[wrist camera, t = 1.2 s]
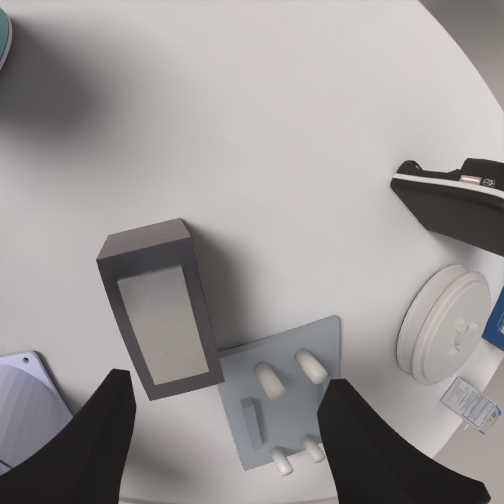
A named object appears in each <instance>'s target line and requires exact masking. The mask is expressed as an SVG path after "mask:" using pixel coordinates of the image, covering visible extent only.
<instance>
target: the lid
mask: <svg viewBox="0 0 504 504" xmlns="http://www.w3.org/2000/svg"><path fill="white" fill-rule="evenodd" d="M489 312H490V293H489V286H488V282H487V280H486V278H485V277H484V275H482V274H481V273H479V272H475V271H472V272H469V270H468V269H467V268H466V267H464V266H462V265H459V264H453V265H449V266H447V267H445V268H443V269H441V270H440V271H439V272H437V273H436V274H435V275H434V276H433V277H432V278H431V279H430V280H429V281H428V282H427V283H426V284H425V285H424V287H423V288H422V289H421V291H420V292H419V293H418V295H417V297H416V298H415V300H414V301H413V303H412V305H411V307H410V308H409V310H408V313H407V315H406V317H405V319H404V322H403V324H402V327H401V330H400V333H399V337H398V342H397V360H398V363H399V366H400V367H401V368H402V370H404V371H405V372H406V373H409V374H413V377H414V379H415V380H416V381H417V382H418V383H419V384H421V385H432V384H435V383H437V382H440V381H443V380H445V379H447V378H448V377H450V376H451V375H453V374H454V373H455V372H456V371H457V370H458V369H459V368H460V367H461V366H462V365H463V364H464V363H465V362H466V360H467V359H468V358H469V357H470V355H471V354H472V352H473V351H474V349H475V347H476V346H477V344H478V342H479V340H480V338H481V336H482V334H483V332H484V329H485V326H486V324H487V320H488V316H489Z"/></svg>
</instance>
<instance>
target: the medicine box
mask: <svg viewBox="0 0 504 504" xmlns="http://www.w3.org/2000/svg"><path fill="white" fill-rule="evenodd" d="M441 401H442V402H443V403H444V404H445V405H446V406H448V407H449V408H450V409H451V410H453V411H454V412H455V413H456V414H458V415H459V416H460V417H461V418H463V419H464V420H465V421H466V422H468V423H469V424H470V425H471V426H473V427H474V428H475V429H476V430H478V431H480V432H482V433H483V434H486V433H487V432H488V431H489V430H490V429H491V427H492V426H493V425H494V423H495V422H496V421H497V419H498V418H499V416H500V414H501V411H500V410H499V408H498V406H497V404H496V403H494V402H493V401H492V400H491V399H489V398H488V397H487V396H485V395H484V394H482V393H481V392H479V391H478V390H477V389H475V388H474V387H473V386H471V385H470V384H468V383H467V382H465V381H464V380H463V379H461V378H459V377H458V378H457V379H456V380H455V381H454V383H453V384H452V385H451V387H450V388H449V389H448V391H447V392H446V393H445V395H444V396H443V397H442V398H441Z"/></svg>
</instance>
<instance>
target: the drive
mask: <svg viewBox="0 0 504 504" xmlns="http://www.w3.org/2000/svg"><path fill="white" fill-rule="evenodd" d="M96 261H97V265H98V268H99V271H100V275H101V278H102V281H103V284H104V287H105V290H106V293H107V296H108V299H109V302H110V305H111V308H112V311H113V313H114V316H115V319H116V322H117V324H118V327H119V330H120V332H121V335H122V337H123V340H124V343H125V345H126V348H127V350H128V352H129V355H130V357H131V360H132V362H133V364H134V367H135V369H136V371H137V374H138V376H139V378H140V380H141V383H142V385H143V387H144V389H145V391H146V393H147V396H148V398H149V400H150V401H152V400H156V399H161V398H165V397H169V396H173V395H178V394H182V393H186V392H190V391H193V390H197V389H201V388H205V387H208V386H212V385H216V384H219V383H223V382H225V379H224V375H223V372H222V368H221V364H220V360H219V356H218V352H217V348H216V344H215V340H214V336H213V332H212V328H211V324H210V320H209V316H208V312H207V308H206V303H205V299H204V295H203V290H202V286H201V281H200V277H199V272H198V268H197V263H196V259H195V254H194V249H193V244H192V239H191V236H190V234H189V232H188V231H187V229H186V227H185V225H184V224H183V222H182V220H181V218H178V219H173V220H169V221H165V222H161V223H156V224H152V225H148V226H144V227H140V228H136V229H132V230H127V231H123V232H120V233H116V234H112V235H109V236H108V238H107V240H106V241H105V243H104V245H103V247H102V249H101V251H100V253H99V255H98V257H97V259H96Z"/></svg>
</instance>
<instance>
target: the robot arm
mask: <svg viewBox="0 0 504 504" xmlns="http://www.w3.org/2000/svg"><path fill="white" fill-rule="evenodd" d="M25 358H27V359H28V360H29V361H28V360H26V359H25ZM135 414H136V402H135V397H134V392H133V387H132V381H131V376H130V371H127V370H120V369H112V370H111V371H110V372H109V374H108V375H107V377H106V378H105V379H104V381H103V382H102V383H101V385H100V386H99V387H98V389H97V390H96V391H95V392H94V394H93V395H92V396H91V397H90V399H89V400H88V401H87V402H86V403H85V405H84V406H83V407H82V408H81V409H80V411H79V412H78V413H77V414H76V415H75V416H74V417H73V415H72V414H71V412H70V411H69V409H68V408H67V406H66V404H65V403H64V401H63V400H62V398H61V396H60V395H59V393H58V391H57V390H56V388H55V386H54V384H53V383H52V381H51V379H50V377H49V376H48V374H47V372H46V370H45V368H44V366H43V364H42V362H41V361H40V359H39V357H38V355H37V354H36V353H35V352H33V351H28V352H22V353H17V354H11V355H5V356H0V504H118V502H119V491H120V484H121V478H122V474H123V470H124V466H125V461H126V457H127V453H128V449H129V445H130V441H131V437H132V433H133V428H134V421H135ZM317 418H318V425H319V431H320V436H321V440H322V443H323V446H324V449H325V453H326V456H327V459H328V462H329V465H330V469H331V472H332V475H333V478H334V481H335V485H336V489H337V495H338V500H339V504H487V503H489V502H490V500H491V497H490V495H489V493H488V491H487V489H486V487H485V485H484V484H483V483H482V482H480V481H477V480H474V479H471V478H469V477H466V476H463V475H461V474H459V473H457V472H455V471H452V470H450V469H448V468H446V467H444V466H443V465H441V464H439V463H437V462H436V461H434V460H433V459H431V458H429V457H428V456H426V455H425V454H423V453H422V452H420V451H419V450H418V449H416V448H415V447H414V446H412V445H411V444H410V443H408V442H407V441H406V440H405V439H403V438H402V437H401V436H400V435H399V434H398V433H397V432H396V431H394V430H393V429H392V428H391V427H390V426H389V425H388V424H387V423H386V422H385V421H384V420H383V419H382V418H381V417H380V416H379V415H378V414H377V413H376V412H375V411H374V410H373V409H372V408H371V406H370V405H369V404H368V403H367V402H366V401H365V400H364V399H363V398H362V397H361V395H360V394H359V393H358V392H357V391H356V390H355V389H354V388H353V386H352V385H351V384H350V383H349V382H348V381H347V380H346V379H331V380H330V382H329V385H328V387H327V390H326V392H325V394H324V397H323V399H322V402H321V404H320V406H319V409H318V411H317ZM56 434H57V435H56Z"/></svg>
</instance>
